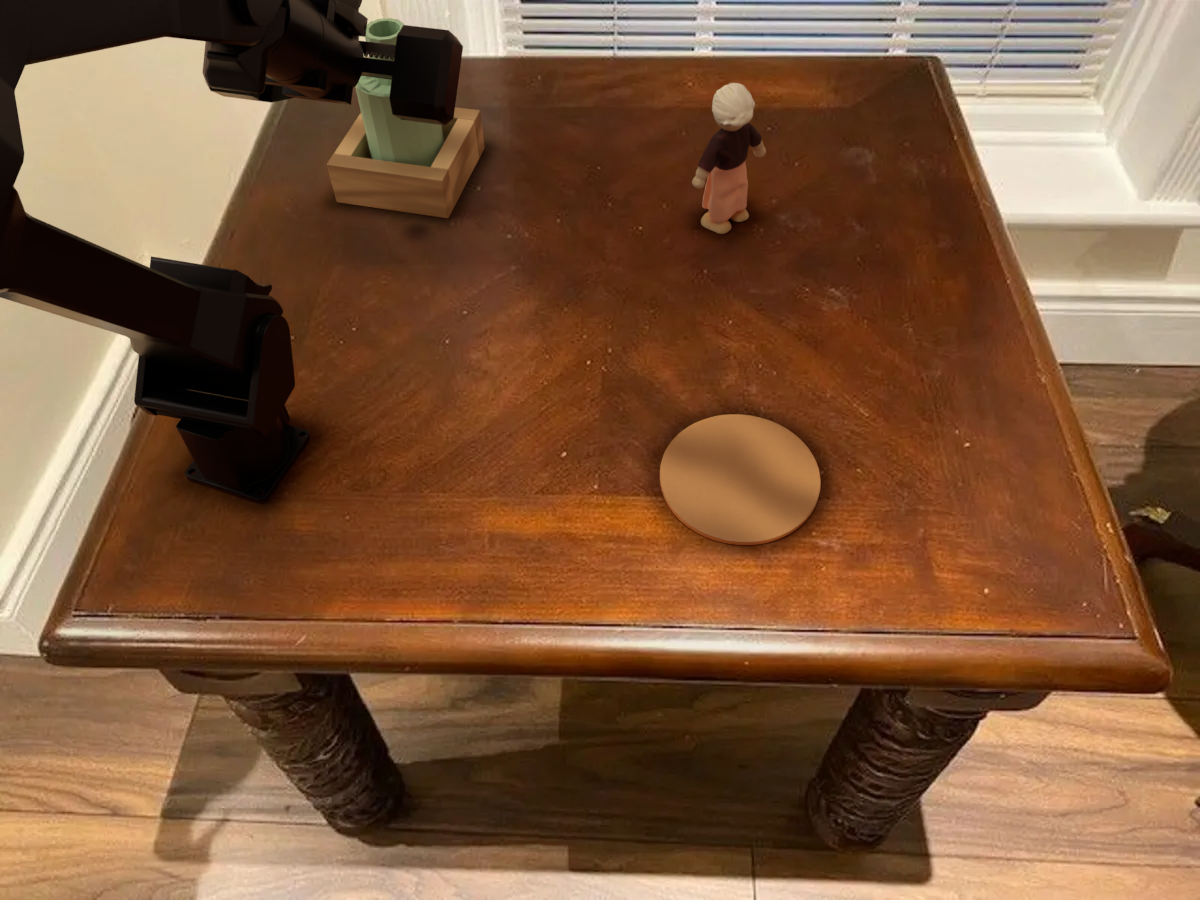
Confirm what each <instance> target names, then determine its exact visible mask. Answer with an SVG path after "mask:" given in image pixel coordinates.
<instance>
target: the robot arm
mask: <svg viewBox="0 0 1200 900" xmlns="http://www.w3.org/2000/svg"><path fill="white" fill-rule="evenodd" d="M362 2H363V0H0V299H4V300H7V301H11V302H14V303H17V304H21V305H23V306H27V307H30V308H33V309H37V310H40V311H43V312H47V313H49V314H52V315H55V316H60V317H62V318H64V319H65V318H66V319H69V320H71V321H76V322H78V323H82V324H85V325H88V326H91V327H94V328H97V329H101V330H104V331H108V332H110V333H113V334H117V335H120V336H124V337H127V338H128V339H129V342H130V347H131V348H132V350H133V352H134V353H136V354H137V355H138V361H137V369H136V372H137V373H136V379H135V389H134V400H133V402H134V405H135V406H136V407H137V408H139V409H140V410H142V411H143V412H145V413H146V414H147V415H151V416H156V417H157V416H162V417H169V418H174V419H179V421H178V422H177V423H176V425H175V427H176V430H177V432H178V433H179V435H180V437H181V439H182V441H183V443H184V445H185V447H186V448H187V450H188V452H189V454H190V457H191V458H192V461H191V463H190V464H189V465H188V467H187V468H186V469H185V471H184V475H185V477H186V479H187V480H188V481H190V482H193V483H197V484H201V485H203V486H206V487H209V488H213V489H214V490H218V491H221V492H224V493H227V494H231V495H234V496H237V497H240V498H242V499H246V500H250V501H252V502H256V503H259V504H261V503H265V502H267V501H268V499H269V498H270V497H271V495H272V494H273V493H274V492H275V490H276V488H277V487H278V485H280V483H281V481H282V480H283V478H284V477H285V476H286V474H287V473H288V471H289V470H290V468H291V467H292V466H293V464H294V463H295V461H296V460H297V458H298V457H299V455H300V454H301V453H302V451H304V448H305V447H306V446H307V444H308V443H309V441H310V440H311V434H310V432H309V430H308V429H306V428H302V427H299V426H295V425H292V424H290V421H291V418H290V414H289V412H288V410H287V407H286V403H287V401H288V400H289V398H290V396H291V394H292V393H293V391H294V389H295V386H296V378H295V377H296V376H295V367H294V359H293V357H294V356H293V348H292V338H291V337H292V336H291V329H290V326H289V322H288V320H287V319H286V318H285V317H284V316H283V314H284V309H283V308H282V306H281V304H280V302H279V300H277V299H276V298H275V297H273V296H271V295H270V293H271V292H272V291H273V286H272V284H269V283H264V282H256V281H254V280H253V279H252V278H251V277H249V275H247V274H245V273H244V272H241V271H239V270H238V269H234V268H233V269H232V268H227V267H220V266H215V265H207V264H202V263H196V262H195V263H194V262H189V261H184V260H183V261H182V260H176V259H170V258H163V257H157V256H152V255H151V256H150V262H149V266H147V265H145V264H143V263H140V262H138V261H136V260H133V259H131V258H128V257H126V256H124V255H121V254H119V253H117V252H115V251H112V250H110V249H107V248H105V247H104V246H101V245H99V244H96V243H94V242H91V241H89V240H87V239H85V238H82V237H80V236H77V235H76V234H74V233H71V232H69V231H66V230H64V229H62V228H59V227H57V226H55V225H53V224H50V223H48V222H46V221H43V220H41V219H39V218H36V217H34V216H32V215H31V214H29V213H28V212H26V210H25V207H24V205H23V202H22V199H21V197H20V193H19V192H18V190H17V189H16V187H15V183H16V181H17V179H18V176H19V174H20V171H21V169H22V167H23V164H24V159H25V149H24V142H23V135H22V130H21V124H20V117H19V112H18V111H19V110H18V106H17V100H16V99H17V98H16V93H15V92H16V88H17V87H18V84H19V81H20V79H21V78H22V77H21V76H22V75H23V71H24V69H25V67H26V66H29V65H35V64H39V63H44V62H49V61H53V60H58V59H64V58H69V57H74V56H78V55H83V54H87V53H93V52H98V51H101V50H103V51H104V50H108V49H112V48H117V47H122V46H127V45H131V44H132V45H133V44H137V43H141V42H142V43H143V42H147V41H152V40H157V39H161V38H162V39H163V38H170V39H171V38H173V39H182V40H191V41H198V42H205V46H204V53H203V63H202V64H203V65H202V75H203V78H204V82H205V83H206V85H207V87H208V89H209V91H210V92H213V93H215V94H217V95H220V96H222V97H225V98H226V97H227V98H234V99H240V100H247V101H257V102H264V103H277V102H281V101H282V102H283V101H287V100H291V99H301V100H309V101H315V102H316V101H317V102H325V103H331V104H332V103H333V104H339V105H340V104H341V105H348V106H352V101H353V100H352V99H353V92H354V91H353V90H354V88H355V86H356V85H357V83H358V82H359V80H360V77H361V76H366V77H374V78H382V79H390V80H392V81H391V89H390V97H389V100H390V105H391V109H392V114H393V115H394V116H396V117H398V118H400V119H401V120H408V121H415V122H422V123H430V124H437V125H446V124H448V123H449V122H450V121H451V120H452V119H454V111H455V107H456V103H457V96H458V87H459V80H460V74H461V67H462V57H463V50H464V46H463V44H462V43H461V41H460V40H459V38H458V37H457V36H455V34H454V33H452V32H451V31H450V30H449V29H442V28H433V27H425V26H418V25H417V26H416V25H407V24H404V25H403V27H402V28H401V30H400V31H399V33H398V34H397V40H396V45H391V44H383V43H374V42H366V40H365V41H364V40H360V37H362V38H363V37H364V38H365V36H366V29H367V25H368V21H369V19H368V17H366V15H364V14H362V13H361V12H360V8H361V5H362ZM373 55H374V57H375V58H378V56H379V58H380V59H372V57H373ZM369 57H371V58H369ZM383 57H384V58H385V59H386V60H381V59H383ZM388 58H390V60H393V59H394V61H389V60H388Z"/></svg>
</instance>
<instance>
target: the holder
mask: <svg viewBox="0 0 1200 900" xmlns="http://www.w3.org/2000/svg"><path fill="white" fill-rule="evenodd" d="M441 126H442V132H443V138H444V144H443V146H442V148H441V149H440V151H439V153H438V155H437V157H436V158H435V160H434V162H433V164H432V166H431V167H426V166H419V165H412V164H405V163H397V162H390V161H383V160H376V159H372V158H371V154H370V150H369V145H368V141H367V136H366V132H365V128H364V123H363V119H362V114H361V112H360V113H359V115H358V116H357V118H356V120H355V121H354V122H353V124H352V125H351V126H350V127H349V129H348V132H347V133H346V134H345V136H344V138H343V139H342V140H341V142H340V143H339V145H338V146H337V148H336V150H335V151H334V153H333V154H332V156H331V157H330V159H329V160H328V161H327V163H326V168H327V172H328V175H329V179H330V182H331V186H332V191H333V194H334V196H335V201H336V203H339V204H340V203H341V204H346V205H354V206H360V207H368V208H374V209H381V210H388V211H395V212H400V213H407V214H414V215H421V216H427V217H428V216H429V217H434V218H435V217H436V218H442V219H449V218H450V216H451V214H452V212H453V210H454V209H455V207H456V205H457V202H458V201H459V199H460V197H461V195H462V193H463V191H464V189H465V187H466V185H467V184H468V182H469V179H470V177H471V175H472V174H473V171H474V170H475V168H476V166H477V164H478V162H479V160H480V158H481V156H482V154H483V152H484V150H485V149H486V146H485V138H484V132H483V131H484V130H483V123H482V114H481V110H480V109H473V108H465V107H458V106H455V111H454V119H452V120H451V121H450V122H449V123H448V124H446V125H441Z"/></svg>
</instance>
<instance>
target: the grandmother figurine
mask: <svg viewBox="0 0 1200 900" xmlns="http://www.w3.org/2000/svg"><path fill="white" fill-rule="evenodd" d="M755 106H756V102H755V101H754V99H753V96H752V94H751V92H750V91H749V90H748V89H747V87H746V86H745V85H744V84H741V83H739V82H729V83H728V84H724V85H723V86H721V87H720V88H719V89H716V91H715V92H714V95H713V98H712V105H711V112H712V113H713V115H712V116H713V118H714V120H715V122H716V124H717V125H718V126H719V127H720V129H719V130H717V132H715V134H713V135H712V137H711V138H710V139H709V141H708V143H707V146H706V147H705V149H704V151H703V153H702V156H701V157H700V159H699V160H698V163H697V169H696V170H695V176H694V177H693V178H692V181H691V184H692V187H693V188H694V189H697V190H701V189H702V188H704V191H703V195H702V203H701V207H702V208H703V209H706V210H708V211H707V212H706V213H704V214H703V216H702V217H701V219H700V224H701V226H702V227H703V228H704V229H707V230H709V231H712V232H714V233H716V234H719V235H723V234H727V233H728V232H730V231H731V229H732V224H731V222H730V221H729V219H731V221H733V222H736V223H741V222H744V221H747V220H748V219H749V217H750V215H749V212H748V210H747V209H746V208H747V206H748V189H749V180H748V172H747V164H746V163H747V162H746V160H747V158H748V153H749V149H750V148H751V149H752V152H753V156H755V158H758V159H761V158H764V157H765V156H766V153H767V149H766V147H765V146H764V142H763V137H762V134H760V132H759V131H758V129H756V127H755V126H754V125H753V124H752V123H750V121H752V118H753V116H754V109H755ZM704 186H705V187H704Z"/></svg>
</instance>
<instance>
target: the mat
mask: <svg viewBox="0 0 1200 900" xmlns="http://www.w3.org/2000/svg"><path fill="white" fill-rule="evenodd" d="M821 482H822V480H821V472H820V469H819V466H818V463H817V460H816V458H815V456H814V455H813V453H812V452H811V450H810V448H809V447H808V446H807V444H805V442H804V441H803V440H802V439H801V438H800V437H798V436H797V435H796V434H795V433H793V432H792V431H791V430H789V429H788V428H786V427H784V426H783V425H781V424H779V423H777V422H775V421H773V420H770V419H766V418H763V417H759V416H755V415H749V414H742V413H741V414H740V413H739V414H737V413H730V414H729V413H728V414H719V415H715V416H710V417H707V418H705V419H704V418H703V419H701V420H699V421H696V422H694V423H692V424H690V425H689V426H686V427H685V428H684V429H683V430H681V431H680V432H678V433H677V435H676V436H675V437H674V438H673V439H672V440H671V441H670V443H669V444H668V446H666V449H665V451H664V453H663V455H662V458H661V461H660V466H659V485H660V490H661V494H662V496H663V499H664V501H665V503H666V504H667V507H668V508H669V509H670V511H671V513H673V515H674V516H675V517H676V518H677V519H678V520H679V521H680V522H681V523H683V524H684V525H685V526H686V527H687V528H689V529H690V530H692V531H693V532H694V533H697V534H699V535H701V536H703V537H704V538H707V539H710V540H712V541H715V542H719V543H724V544H726V545H727V544H729V545H735V546H755V545H762V544H768V543H771V542H774V541H777V540H781V539H782V538H784V537H786V536H789V535H790V534H792V533H793V532H795V531H797V530H798V529H799V528H801V526H802V525H804V524H805V523H806V522H807V520H808V519H809V518H810V517H811V515H812V513H813V512H814V510H815V508H816V507H817V503H818V501H819V497H820V492H821V485H822V484H821Z"/></svg>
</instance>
